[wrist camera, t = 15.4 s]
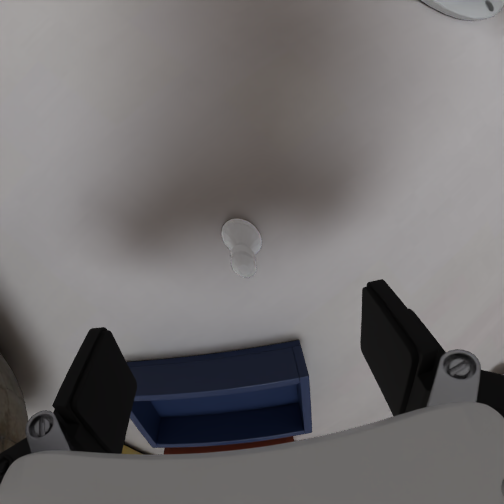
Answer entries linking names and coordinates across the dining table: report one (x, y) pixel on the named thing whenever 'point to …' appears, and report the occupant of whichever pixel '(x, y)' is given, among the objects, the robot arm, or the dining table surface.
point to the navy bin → (223, 397)
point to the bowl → (11, 408)
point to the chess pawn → (242, 246)
